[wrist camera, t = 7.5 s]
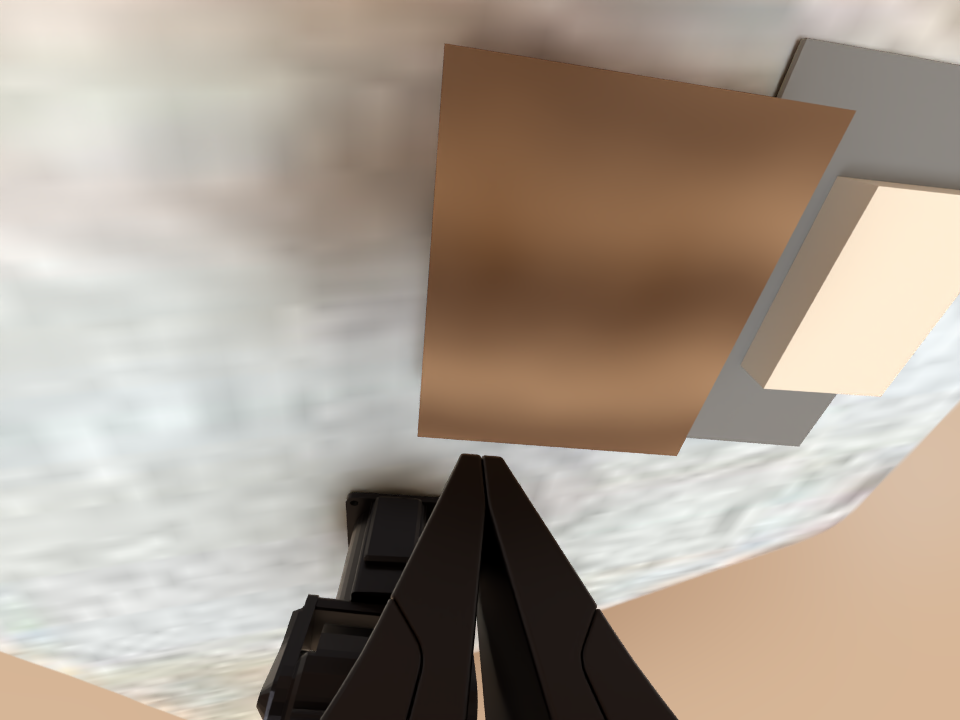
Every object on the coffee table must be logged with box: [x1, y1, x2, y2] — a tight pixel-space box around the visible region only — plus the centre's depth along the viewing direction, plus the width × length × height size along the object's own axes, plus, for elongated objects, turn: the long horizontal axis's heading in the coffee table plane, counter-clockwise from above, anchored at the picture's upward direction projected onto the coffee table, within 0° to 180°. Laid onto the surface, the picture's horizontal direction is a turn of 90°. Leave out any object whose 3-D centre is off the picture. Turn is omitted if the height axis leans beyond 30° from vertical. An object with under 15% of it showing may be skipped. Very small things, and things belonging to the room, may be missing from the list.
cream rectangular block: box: [741, 176, 960, 397], centre depth 19 cm, size 9×6×2 cm, turn 174°
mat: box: [686, 38, 960, 446], centre depth 20 cm, size 18×10×1 cm, turn 173°
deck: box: [418, 44, 856, 456], centre depth 17 cm, size 14×12×4 cm
